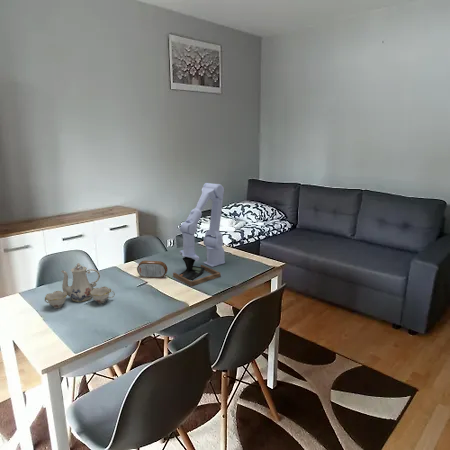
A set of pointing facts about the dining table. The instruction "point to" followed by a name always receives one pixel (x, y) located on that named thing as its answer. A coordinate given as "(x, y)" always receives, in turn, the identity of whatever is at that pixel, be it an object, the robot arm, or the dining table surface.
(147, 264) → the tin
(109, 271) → the dining table surface
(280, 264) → the dining table surface
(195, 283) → the brown angled flat piece
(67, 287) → the chinaware
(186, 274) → the calculator
